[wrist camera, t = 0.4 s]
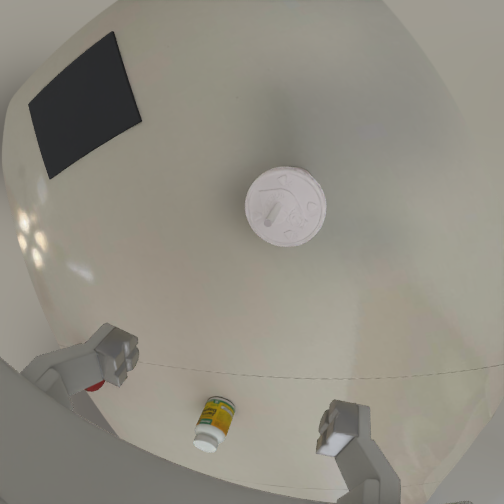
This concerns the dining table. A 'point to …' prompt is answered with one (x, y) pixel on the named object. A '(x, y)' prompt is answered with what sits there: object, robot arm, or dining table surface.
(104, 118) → the mat
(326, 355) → the dining table surface
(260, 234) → the smoothie
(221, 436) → the supplement bottle
